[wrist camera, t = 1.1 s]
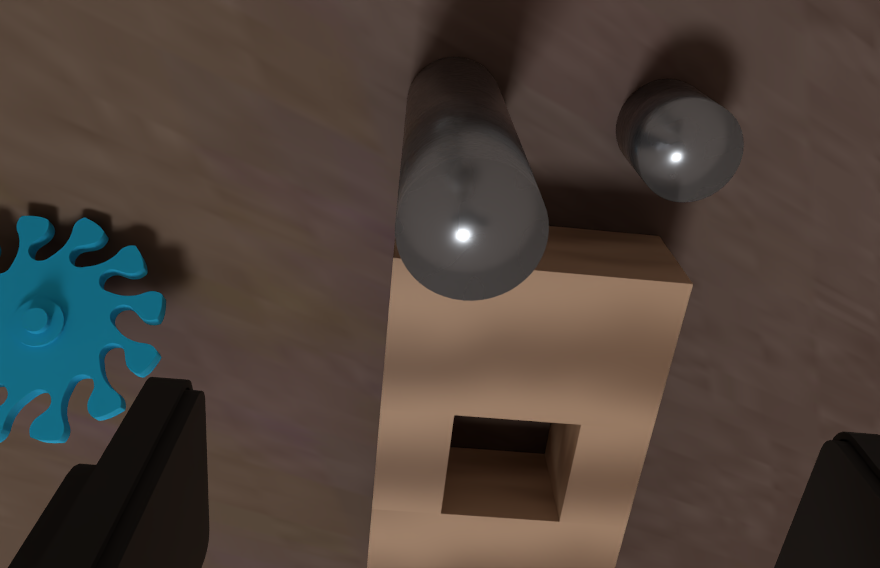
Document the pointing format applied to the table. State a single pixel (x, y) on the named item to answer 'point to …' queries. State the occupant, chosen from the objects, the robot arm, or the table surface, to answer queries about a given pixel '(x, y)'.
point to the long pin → (466, 187)
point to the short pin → (679, 140)
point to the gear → (67, 326)
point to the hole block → (525, 407)
